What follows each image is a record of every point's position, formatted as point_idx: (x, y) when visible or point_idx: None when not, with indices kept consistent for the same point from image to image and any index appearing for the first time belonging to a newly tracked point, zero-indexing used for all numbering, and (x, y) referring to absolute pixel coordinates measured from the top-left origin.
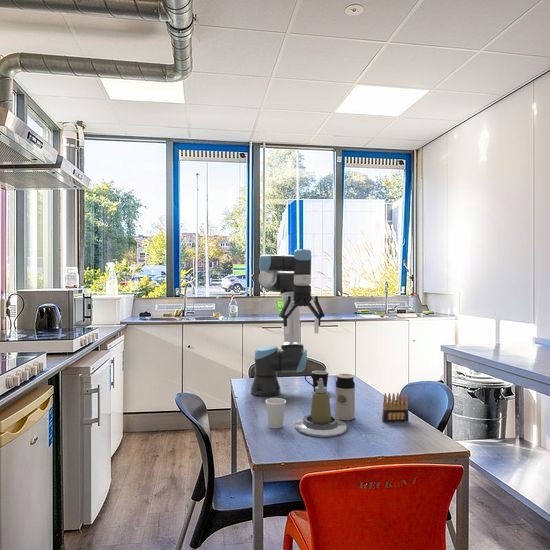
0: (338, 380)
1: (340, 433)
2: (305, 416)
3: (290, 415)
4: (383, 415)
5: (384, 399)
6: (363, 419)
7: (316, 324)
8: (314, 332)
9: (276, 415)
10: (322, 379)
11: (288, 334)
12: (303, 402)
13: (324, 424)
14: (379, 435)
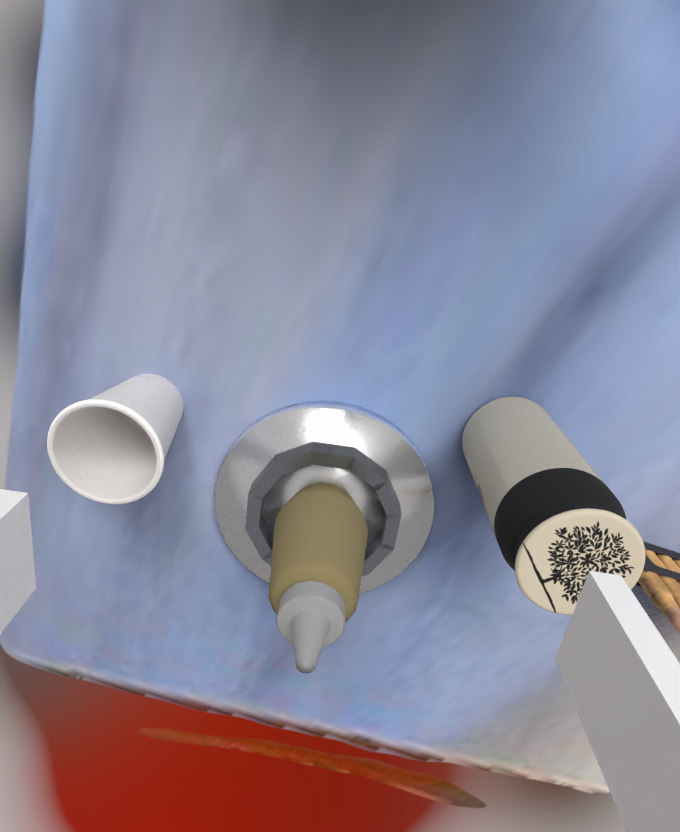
0: (516, 542)
1: None
2: (275, 468)
3: (279, 297)
4: None
5: (666, 615)
6: None
7: (634, 808)
8: (591, 578)
9: (120, 464)
10: (313, 666)
11: (27, 586)
12: (481, 81)
13: None
14: (481, 635)
